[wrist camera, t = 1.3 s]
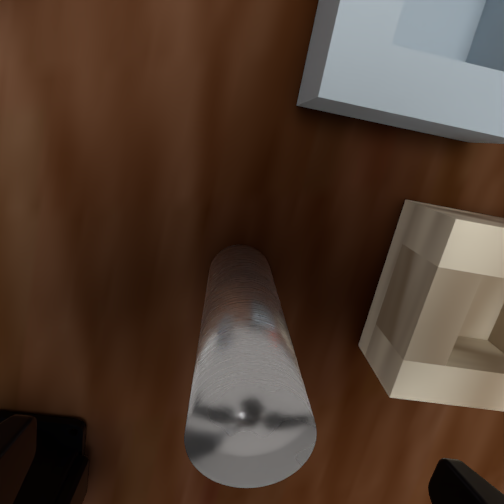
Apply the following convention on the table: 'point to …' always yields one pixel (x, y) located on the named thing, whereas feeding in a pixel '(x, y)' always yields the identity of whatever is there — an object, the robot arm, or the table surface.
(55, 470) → the robot arm
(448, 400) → the birch block
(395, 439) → the table surface
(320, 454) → the table surface
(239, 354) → the cylinder
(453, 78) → the slate block
